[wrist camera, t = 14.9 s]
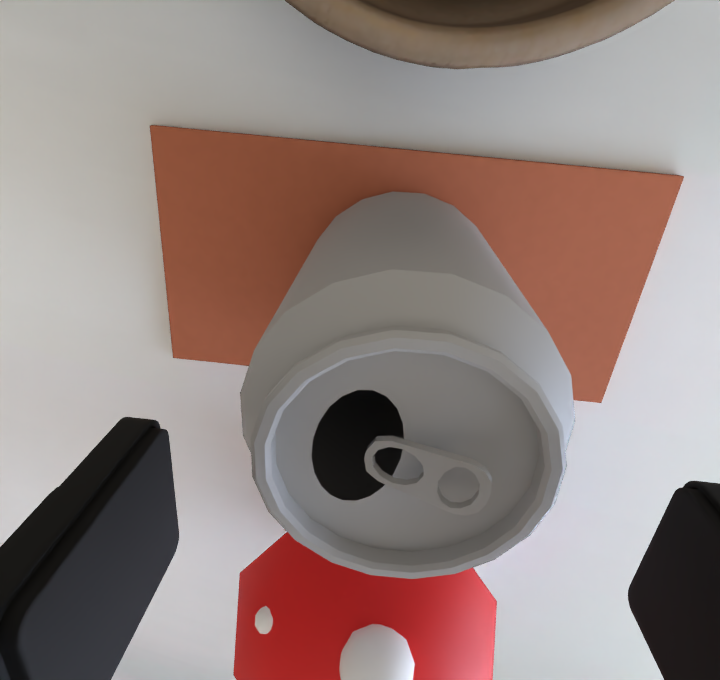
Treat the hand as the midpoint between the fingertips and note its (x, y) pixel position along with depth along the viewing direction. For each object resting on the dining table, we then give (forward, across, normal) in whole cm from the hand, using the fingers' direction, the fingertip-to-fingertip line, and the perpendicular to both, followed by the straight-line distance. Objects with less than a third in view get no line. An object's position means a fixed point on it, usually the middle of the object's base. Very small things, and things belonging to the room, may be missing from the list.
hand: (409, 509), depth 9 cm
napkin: (+13, 0, -1) cm, 13 cm away
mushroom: (+13, 0, +12) cm, 18 cm away
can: (+13, 0, 0) cm, 13 cm away
